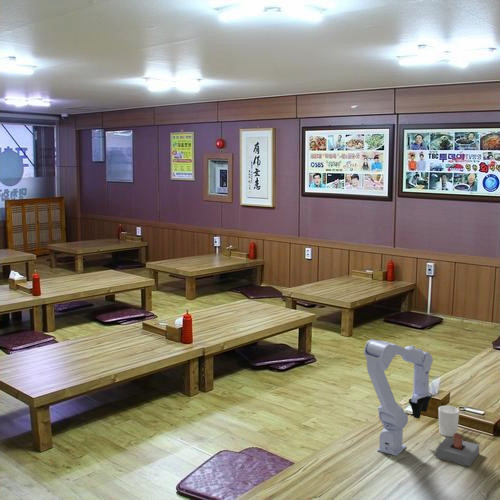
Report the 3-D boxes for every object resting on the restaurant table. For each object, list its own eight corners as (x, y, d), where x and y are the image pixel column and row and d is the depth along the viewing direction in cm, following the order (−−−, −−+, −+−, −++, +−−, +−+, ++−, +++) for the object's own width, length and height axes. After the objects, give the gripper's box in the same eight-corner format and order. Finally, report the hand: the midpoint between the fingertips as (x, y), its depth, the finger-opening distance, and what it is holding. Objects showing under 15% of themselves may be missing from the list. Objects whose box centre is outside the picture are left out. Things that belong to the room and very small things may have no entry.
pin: (460, 458, 221) (460, 437, 220) (451, 455, 223) (452, 435, 222) (462, 455, 223) (463, 434, 222) (454, 452, 225) (455, 432, 224)
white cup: (461, 432, 242) (462, 409, 241) (453, 439, 236) (453, 415, 235) (443, 427, 248) (443, 404, 246) (434, 433, 242) (434, 409, 241)
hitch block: (469, 466, 215) (469, 457, 214) (436, 457, 222) (436, 448, 221) (478, 453, 224) (479, 444, 224) (446, 445, 231) (446, 436, 231)
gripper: (424, 388, 227) (423, 423, 229) (437, 377, 239) (436, 410, 241) (406, 385, 231) (405, 418, 233) (420, 374, 243) (419, 406, 245)
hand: (420, 414), depth 237 cm, fingers open, 7 cm apart
